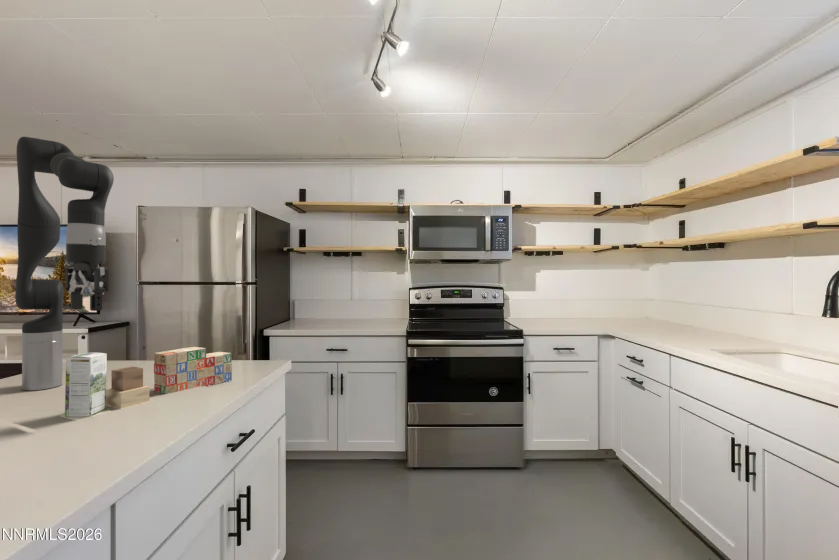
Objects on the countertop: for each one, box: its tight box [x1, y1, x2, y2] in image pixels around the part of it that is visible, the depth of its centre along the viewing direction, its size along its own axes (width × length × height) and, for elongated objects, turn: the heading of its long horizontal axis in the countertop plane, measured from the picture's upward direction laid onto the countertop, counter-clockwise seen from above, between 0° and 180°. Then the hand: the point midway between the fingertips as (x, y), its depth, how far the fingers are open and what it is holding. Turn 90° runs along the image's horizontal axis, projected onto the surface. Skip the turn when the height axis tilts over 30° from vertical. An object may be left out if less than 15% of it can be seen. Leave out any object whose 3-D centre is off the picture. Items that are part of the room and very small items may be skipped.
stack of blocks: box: [153, 346, 233, 395], centre depth 128 cm, size 21×6×12 cm, turn 151°
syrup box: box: [64, 351, 108, 418], centre depth 100 cm, size 6×6×14 cm
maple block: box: [106, 384, 150, 410], centre depth 109 cm, size 7×7×4 cm
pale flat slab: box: [60, 400, 151, 422], centre depth 106 cm, size 15×17×1 cm
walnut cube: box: [111, 366, 144, 391], centre depth 109 cm, size 5×5×5 cm
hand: (86, 309), depth 100 cm, fingers open, 8 cm apart
